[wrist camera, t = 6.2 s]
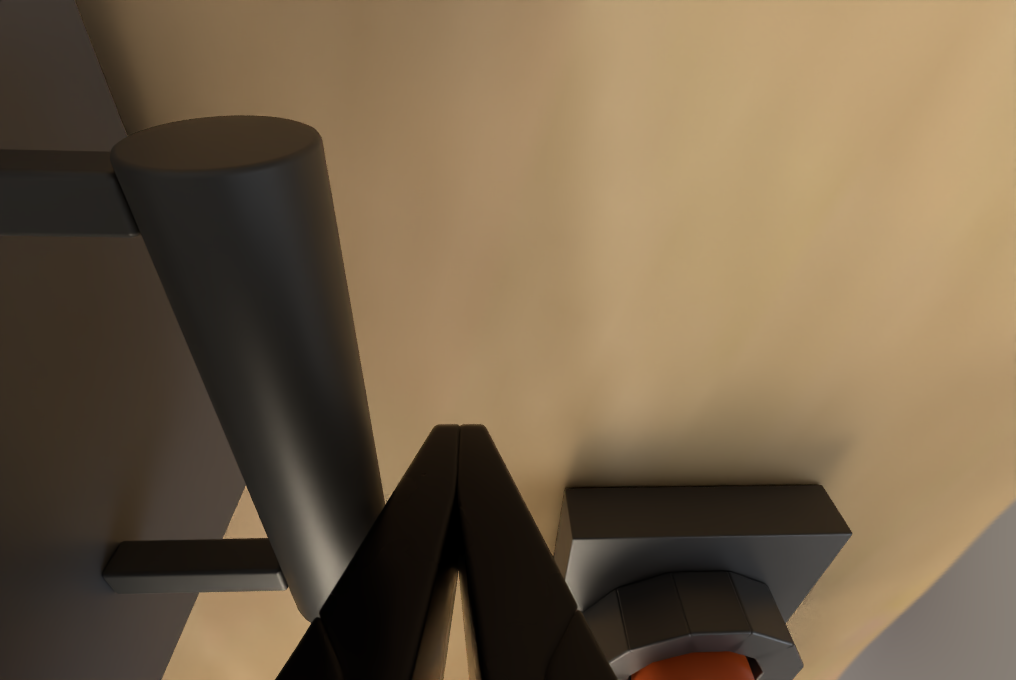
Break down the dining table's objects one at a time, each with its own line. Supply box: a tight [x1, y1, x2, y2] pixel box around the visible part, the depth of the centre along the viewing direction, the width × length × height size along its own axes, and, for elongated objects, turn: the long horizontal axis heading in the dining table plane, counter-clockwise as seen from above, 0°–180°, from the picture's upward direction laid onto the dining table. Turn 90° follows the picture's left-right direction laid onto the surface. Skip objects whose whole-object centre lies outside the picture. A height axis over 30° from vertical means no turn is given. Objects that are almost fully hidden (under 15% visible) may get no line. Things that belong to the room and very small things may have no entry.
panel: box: [554, 485, 852, 680], centre depth 17 cm, size 10×8×4 cm
